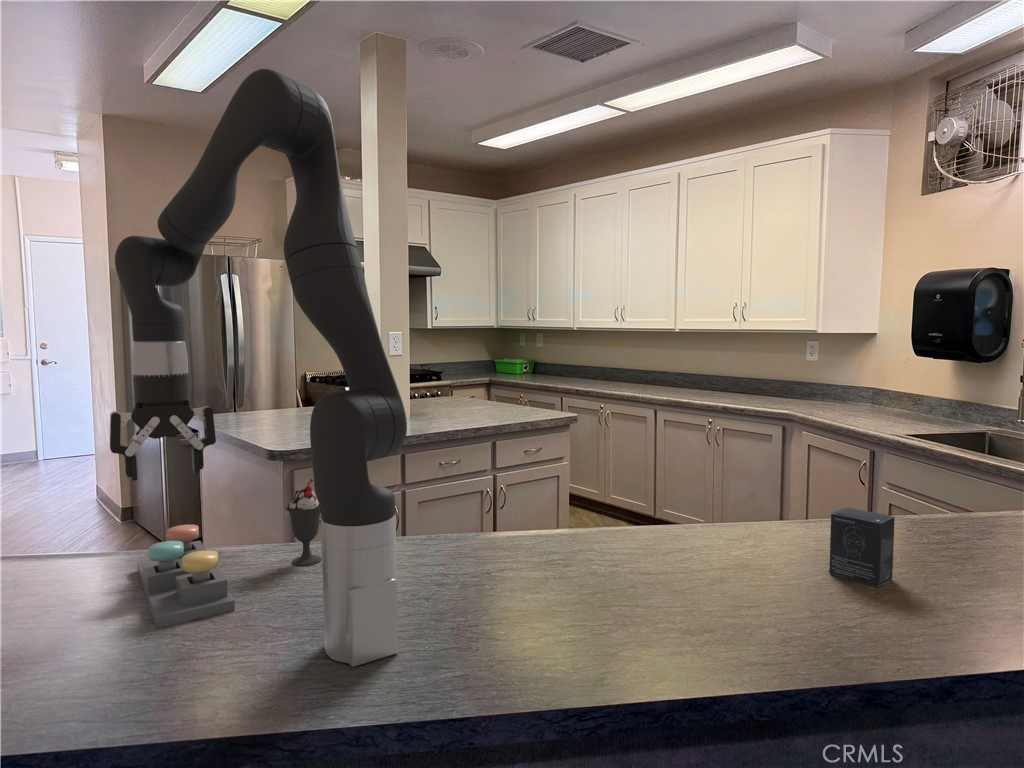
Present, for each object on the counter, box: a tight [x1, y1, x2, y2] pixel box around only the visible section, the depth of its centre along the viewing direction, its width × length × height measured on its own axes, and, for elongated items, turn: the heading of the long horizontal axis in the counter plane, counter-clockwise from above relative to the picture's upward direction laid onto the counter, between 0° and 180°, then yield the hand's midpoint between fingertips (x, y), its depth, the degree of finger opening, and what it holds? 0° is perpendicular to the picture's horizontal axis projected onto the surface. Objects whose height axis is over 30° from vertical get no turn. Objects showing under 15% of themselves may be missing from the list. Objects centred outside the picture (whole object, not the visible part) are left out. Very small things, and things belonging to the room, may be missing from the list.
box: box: [828, 507, 896, 588], centre depth 107 cm, size 8×6×11 cm
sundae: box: [284, 478, 322, 567], centre depth 114 cm, size 7×7×15 cm
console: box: [136, 540, 236, 629], centre depth 103 cm, size 26×10×4 cm, turn 35°
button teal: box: [147, 540, 184, 572], centre depth 101 cm, size 5×5×4 cm
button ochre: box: [182, 549, 219, 584], centre depth 97 cm, size 5×5×4 cm
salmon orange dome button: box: [166, 524, 200, 552], centre depth 110 cm, size 5×5×4 cm
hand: (165, 476), depth 101 cm, fingers open, 8 cm apart
